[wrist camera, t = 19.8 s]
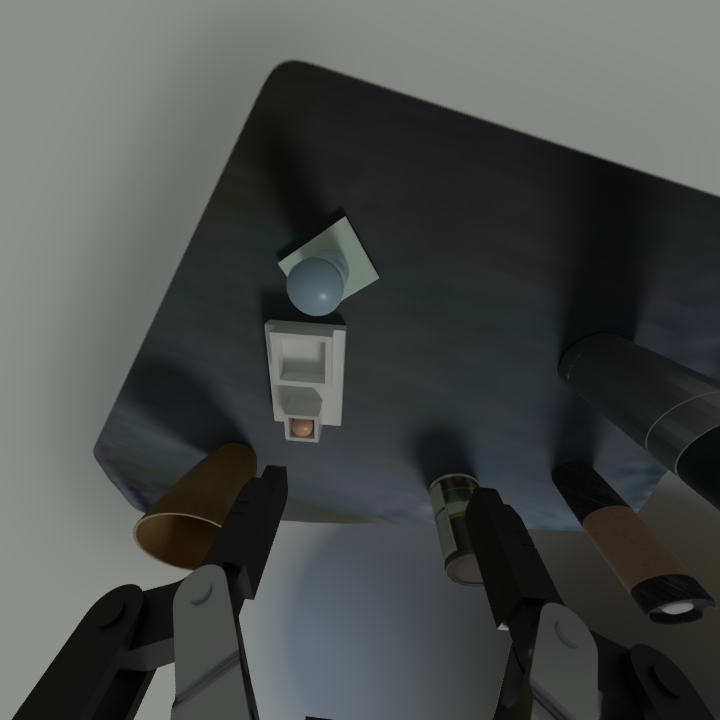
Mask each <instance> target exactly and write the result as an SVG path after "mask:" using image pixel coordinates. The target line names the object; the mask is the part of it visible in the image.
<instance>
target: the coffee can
mask: <svg viewBox="0 0 720 720" xmlns="http://www.w3.org/2000/svg"><path fill="white" fill-rule="evenodd" d="M475 487H480V484H479V482H478V481H477V480H476V479H475V478H474V477H472V476H470V475H468V474H463V473H451V474H446V475H443V476H441V477H439V478H437V479H436V480H435V481H433V483H432V484H431V485H430V488H429V495H430V498H431V503H432V507H433V512H434V517H435V521H436V526H437V530H438V535H439V540H440V545H441V550H442V555H443V559H444V564H445V572H446V575H447V577H448V578H449V579H450V580H451V581H453V582H455V583H458V584H461V585H466V586H484V583H483V580H482V576H481V573H480V570H479V566H478V563H477V559H476V556H475V553H474V549H473V546H472V543H471V539H470V536H469V532H468V529H467V526H466V520H465V511H466V507H467V505H468V502H469V500H470V498H471V495H472V493H473V490H474V488H475Z"/></svg>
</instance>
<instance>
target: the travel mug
mask: <svg viewBox="0 0 720 720" xmlns="http://www.w3.org/2000/svg"><path fill="white" fill-rule="evenodd" d="M552 480H553V482H554V484H555V486H556V487H557V489H558V490H559V492H560V493H561V495H562V496H563V498H564V499H565V501H566V503H567V504H568V506H569V507H570V509H571V510H572V512H573V513H574V515H575V516H576V518H577V519H578V521H579V522H580V524H581V525H582V527H583V528H584V530H585V531H586V533H587V534H588V535H589V537H590V538H591V540H592V541H593V542H594V544H595V545H596V546H597V548H598V549H599V551H600V552H601V554H602V555H603V556H604V558H605V559H606V561H607V562H608V563H609V565H610V566H611V568H612V569H613V571H614V572H615V573H616V575H617V576H618V578H619V579H620V581H621V582H622V583H623V585H624V586H625V587H626V589H627V590H628V592H629V593H630V595H631V596H632V597H633V598H634V600H635V602H636V603H637V605H638V606H639V607H640V609H641V610H642V612H643V613H644V614H645V616H646V617H647V618H648V619H649V620H650V621H652V622H654V623H658V624H667V625H670V624H683V623H689V622H693V621H697V620H699V619H701V618H702V617H703V610H704V609H705V608H707V607H710V606H711V607H714V608H716V609H717V608H718V606H717V604H716V602H715V601H714V600H713V599H712V598H711V596H710V595H709V594H708V593H707V592H706V591H705V590H704V589H703V587H702V586H701V585H700V584H699V583H698V582H697V581H696V580H695V579H694V578H693V576H692V575H691V574H690V573H689V572H688V571H687V570H686V569H685V567H684V566H683V565H682V564H681V563H680V562H679V561H678V560H677V558H676V557H675V556H674V555H673V554H672V553H671V552H670V551H669V550H668V548H667V547H665V545H664V544H663V543H662V542H661V541H660V540H659V538H658V537H657V536H656V535H655V534H654V533H653V532H652V531H651V530H650V528H649V527H648V526H647V525H646V524H645V523H644V522H643V521H642V519H641V518H640V517H639V516H638V515H637V514H636V513H635V512H634V511H633V510H632V508H631V507H630V506H629V505H628V504H627V503H626V502H625V501H624V500H623V499H622V498H621V497H620V496H619V495H618V494H617V493H616V492H615V491H614V490H613V489H612V488H611V487H610V485H609V484H608V483H607V482H606V481H605V480H604V479H603V478H602V477H601V476H600V475H599V474H598V473H597V472H596V471H595V470H594V469H593V468H592V467H591V466H590V465H589V464H587V463H584V462H571V463H568V464H565V465H563V466H561V467H559V468H558V469H557V470H556V471H555V472H554V473H553V475H552Z"/></svg>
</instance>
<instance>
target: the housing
mask: <svg viewBox="0 0 720 720" xmlns="http://www.w3.org/2000/svg"><path fill="white" fill-rule="evenodd" d="M265 334H266V343H267V353H268V362H269V371H270V381H271V390H272V400H273V409H274V418H275V421H284V423H285V435H286V440H294V441H307V442H319V438H320V434H321V430H322V425H336V426H341V420H342V403H343V383H344V363H345V343H346V326H345V325H332V324H319V323H307V322H294V321H282V320H268V321H267V322H266V323H265ZM295 418H296V419H308V420H314V424H313V428H312V431H311V433H310V434H309V435H307V436H299V435H297V434H295V433H294V432H293V431H292V424H293V422H294V419H295Z"/></svg>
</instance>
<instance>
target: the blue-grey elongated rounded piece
mask: <svg viewBox="0 0 720 720" xmlns="http://www.w3.org/2000/svg"><path fill="white" fill-rule="evenodd" d="M348 277H349V265H348V262H347V260H346V259H345V257H344V256H343V255H342V254H341V253H339V252H337V251H335V250H331V249H326V250H322V251H320V252H318V253H316V254H314V255H313V256H311V257H309V258H307V259H304V260H302V261H300V262H299V263H297V264H296V265H295V266H294V267H293V268H292V269H291V271H290V272H289V275H288V278H287V292H288V295H289V298H290V300H291V301H292V303H293V304H294V305H295V307H297V308H298V309H299V310H300V311H302V312H303V313H306V314H308V315H312V316H322V315H326V314H329V313H330V312H332V311H333V310H335V308H336V307H337V306H338V305H339V303H340V301H341V299H342V296H343V292H344V288H345V285H346V283H347V280H348Z"/></svg>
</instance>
